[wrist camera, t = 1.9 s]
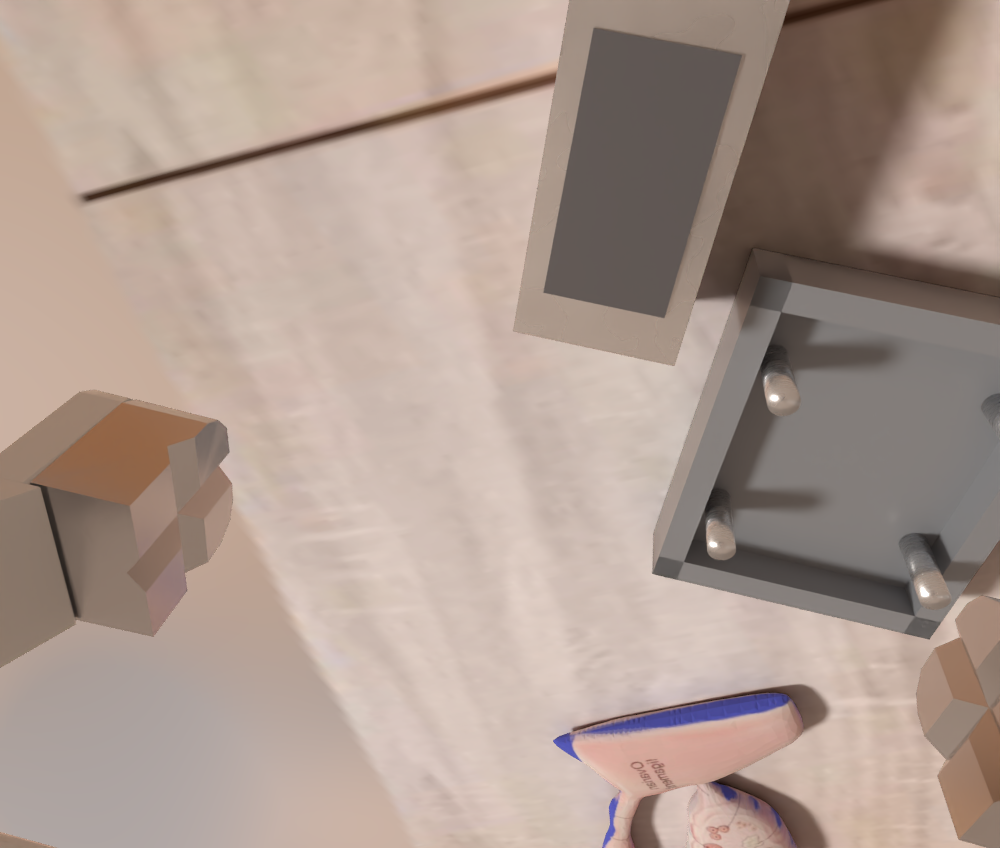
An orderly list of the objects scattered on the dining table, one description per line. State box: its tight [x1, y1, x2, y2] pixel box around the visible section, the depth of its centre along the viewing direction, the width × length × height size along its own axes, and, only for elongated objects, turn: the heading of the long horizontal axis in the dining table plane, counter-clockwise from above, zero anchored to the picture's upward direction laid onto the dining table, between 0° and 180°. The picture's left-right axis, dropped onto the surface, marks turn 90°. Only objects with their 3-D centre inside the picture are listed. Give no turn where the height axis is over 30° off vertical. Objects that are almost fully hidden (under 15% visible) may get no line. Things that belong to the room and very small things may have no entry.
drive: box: [513, 0, 790, 366], centre depth 22 cm, size 5×10×5 cm, turn 172°
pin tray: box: [652, 248, 1000, 639], centre depth 27 cm, size 11×13×4 cm
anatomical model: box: [553, 693, 804, 848], centre depth 42 cm, size 20×3×15 cm
